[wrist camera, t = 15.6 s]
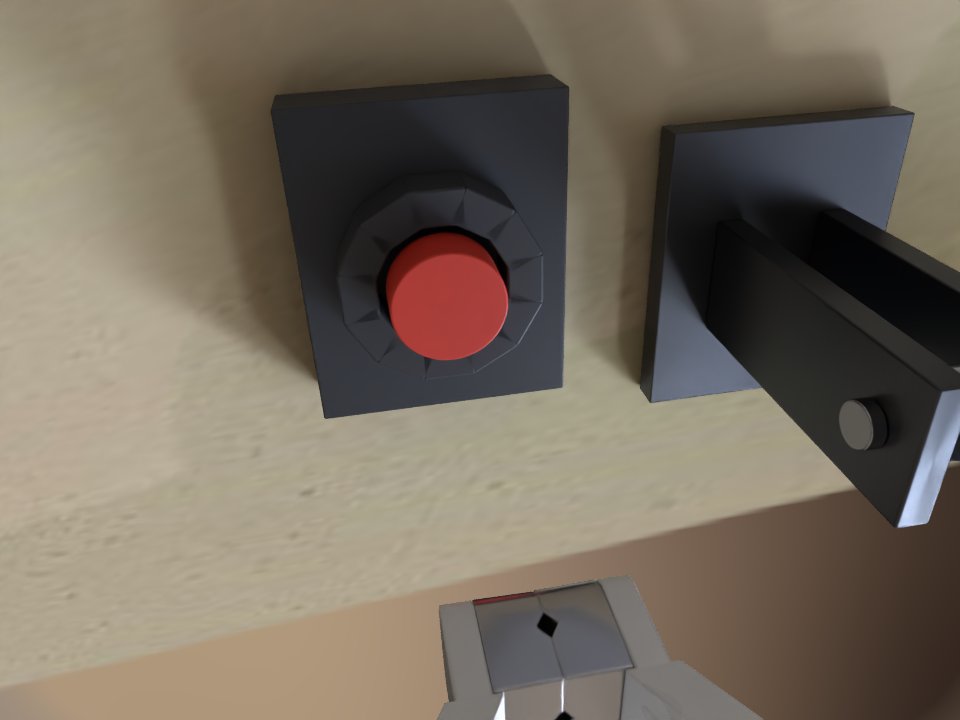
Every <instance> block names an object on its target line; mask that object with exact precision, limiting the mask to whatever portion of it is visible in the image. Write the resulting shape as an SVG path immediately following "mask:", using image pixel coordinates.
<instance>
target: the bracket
mask: <svg viewBox="0 0 960 720" xmlns="http://www.w3.org/2000/svg"><path fill="white" fill-rule="evenodd" d="M913 118H914V113H913V112H910V111H907V110H904V109H901V108H897V107H894V106H890V107H878V108H866V109H855V110H843V111H831V112H820V113H808V114H797V115H785V116H773V117H762V118H750V119H738V120H727V121H715V122H703V123H692V124H680V125H668V126H662V130H661V142H660V154H659V166H658V178H657V190H656V202H655V214H654V226H653V238H652V250H651V262H650V274H649V286H648V298H647V310H646V322H645V334H644V346H643V358H642V371H641V383H640V389H641V390H642V392H643V393H644V395H645V396H646V398H647V399H648V401H649V402H650V403H653V402H661V401H668V400H675V399H683V398H690V397H697V396H705V395H712V394H719V393H726V392H734V391H741V390H748V389H756V388H763V389H764V390H765V391H766V392H767V393H768V394H769V395H770V396H771V397H772V398H773V399H774V400H775V401H776V402H777V404H778V405H779V406H780V407H781V408H782V409H783V410H784V411H785V412H786V413H787V414H788V415H789V416H790V417H791V418H792V419H793V421H794V422H795V423H796V424H797V425H798V426H799V427H800V428H801V429H802V430H803V431H804V432H805V433H806V434H807V435H808V436H809V438H810V439H811V440H812V441H813V442H814V443H815V444H816V445H817V446H818V447H819V448H820V449H821V450H822V451H823V452H824V453H825V455H826V456H827V457H828V458H829V459H830V460H831V461H832V462H833V463H834V464H835V465H836V466H837V467H838V468H839V469H840V470H841V472H842V473H843V474H844V475H845V476H846V477H847V478H848V479H849V480H850V481H851V482H852V483H853V484H854V485H855V486H856V487H857V489H858V490H859V491H860V492H861V493H862V494H863V495H864V496H865V497H866V498H867V499H868V500H869V501H870V502H871V503H872V504H873V505H874V507H875V508H876V509H877V510H878V511H879V512H880V513H881V514H882V515H883V516H884V517H885V518H886V519H887V520H888V521H889V523H890V524H891V525H892V526H893V527H895V528H901V527H907V526H912V525H919V524H925V523H927V522H928V521H929V518H930V515H931V512H932V509H933V506H934V504H935V501H936V498H937V495H938V492H939V490H940V487H941V484H942V481H943V478H944V475H945V473H946V470H947V467H948V464H949V461H950V459H951V456H952V453H953V450H954V447H955V444H956V442H957V439H958V436H959V433H960V373H959V372H958V371H957V370H955V369H954V368H952V367H951V366H955V365H960V272H958V271H956V270H954V269H953V268H951V267H949V266H947V265H945V264H944V263H942V262H940V261H938V260H936V259H935V258H933V257H931V256H929V255H927V254H926V253H924V252H922V251H920V250H918V249H916V248H915V247H913V246H911V245H909V244H907V243H906V242H904V241H902V240H900V239H898V238H897V237H895V236H893V235H891V234H889V233H887V232H886V227H887V223H888V219H889V215H890V211H891V207H892V203H893V199H894V195H895V191H896V186H897V182H898V178H899V174H900V170H901V166H902V162H903V158H904V154H905V150H906V146H907V142H908V138H909V134H910V130H911V126H912V122H913Z"/></svg>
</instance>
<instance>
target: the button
mask: <svg viewBox="0 0 960 720" xmlns="http://www.w3.org/2000/svg"><path fill="white" fill-rule="evenodd" d="M386 295H387V300H388V306H389V312H390V318H391V322H392V325H393V328H394V330H395V332H396V334H397V336H398V337H399V338H400V340H401V341H402V342H403V343H404V344H405V345H406V346H407V347H408V348H410V349H411V350H413V351H414V352H416V353H418V354H420V355H422V356H425V357H428V358H431V359H437V360H454V359H459V358H463V357H466V356H469V355H471V354H474V353H476V352H477V351H479V350H481V349H482V348H484V347H485V346H486V345H488V344H489V343H490V342H491V341H492V340H493V339H494V338H495V336H496V335H497V334H498V332H499V331H500V329H501V328H502V325H503V323H504V321H505V318H506V315H507V310H508V294H507V290H506V286H505V284H504V281H503V279H502V277H501V275H500V273H499V271H498V269H497V267H496V265H495V263H494V261H493V259H492V258H491V256H490V254H489V253H488V252H487V251H486V249H485V248H484V247H482V246H481V245H480V244H479V243H478V242H476V241H475V240H473V239H471V238H469V237H467V236H464V235H461V234H457V233H449V232H440V233H433V234H429V235H426V236H423V237H420V238H418V239H416V240H414V241H413V242H411V243H410V244H408V245H407V246H406V247H404V248H403V249H402V250H401V251H400V252H399V254H398V255H397V256H396V257H395V259H394V261H393V262H392V264H391V266H390V269H389V271H388V275H387V279H386Z"/></svg>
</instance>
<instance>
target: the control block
mask: <svg viewBox="0 0 960 720" xmlns="http://www.w3.org/2000/svg"><path fill="white" fill-rule="evenodd" d="M271 116H272V122H273V127H274V133H275V139H276V144H277V150H278V156H279V162H280V167H281V173H282V179H283V184H284V190H285V196H286V201H287V207H288V213H289V219H290V224H291V230H292V236H293V241H294V247H295V253H296V259H297V264H298V270H299V276H300V281H301V287H302V293H303V298H304V304H305V310H306V316H307V321H308V327H309V333H310V338H311V344H312V350H313V355H314V361H315V367H316V373H317V378H318V384H319V390H320V395H321V401H322V407H323V412H324V418H325V419H328V418H336V417H344V416H351V415H359V414H366V413H374V412H381V411H389V410H397V409H404V408H412V407H419V406H427V405H434V404H442V403H450V402H457V401H465V400H472V399H480V398H487V397H495V396H503V395H510V394H518V393H525V392H533V391H540V390H548V389H556V388H562V387H563V363H564V316H565V268H566V221H567V173H568V126H569V87H568V86H567V85H565V84H564V83H562V82H561V81H560V80H558V79H557V78H555V77H554V76H552V75H536V76H523V77H510V78H496V79H483V80H469V81H456V82H443V83H429V84H416V85H403V86H389V87H376V88H362V89H349V90H336V91H322V92H309V93H295V94H282V95H275V97H274V101H273V104H272V108H271ZM440 232H449V233H457V234H461V235H464V236H467V237H469V238H471V239H473V240H475V241H476V242H478V243H479V244H480V245H481V246H482V247H484V248H485V249H486V251H487V252H488V253H489V254H490V256H491V258H492V259H493V261H494V263H495V265H496V267H497V269H498V271H499V273H500V275H501V277H502V279H503V281H504V284H505V286H506V290H507V294H508V310H507V315H506V318H505V321H504V323H503V325H502V328H501V329H500V331H499V332H498V334H497V335H496V336H495V338H494V339H493V340H492V341H491V342H490V343H489V344H488V345H486V346H485V347H484V348H482V349H481V350H479V351H477V352H476V353H474V354H471V355H469V356H466V357H463V358H459V359H454V360H437V359H431V358H428V357H425V356H422V355H420V354H418V353H416V352H414V351H413V350H411V349H410V348H408V347H407V346H406V345H405V344H404V343H403V342H402V341H401V340H400V338H399V337H398V336H397V334H396V332H395V330H394V328H393V325H392V322H391V318H390V312H389V306H388V300H387V295H386V279H387V275H388V271H389V269H390V266H391V264H392V262H393V261H394V259H395V257H396V256H397V255H398V254H399V252H400V251H401V250H402V249H403V248H404V247H406V246H407V245H408V244H410V243H411V242H413V241H414V240H416V239H418V238H420V237H423V236H426V235H429V234H433V233H440Z"/></svg>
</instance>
